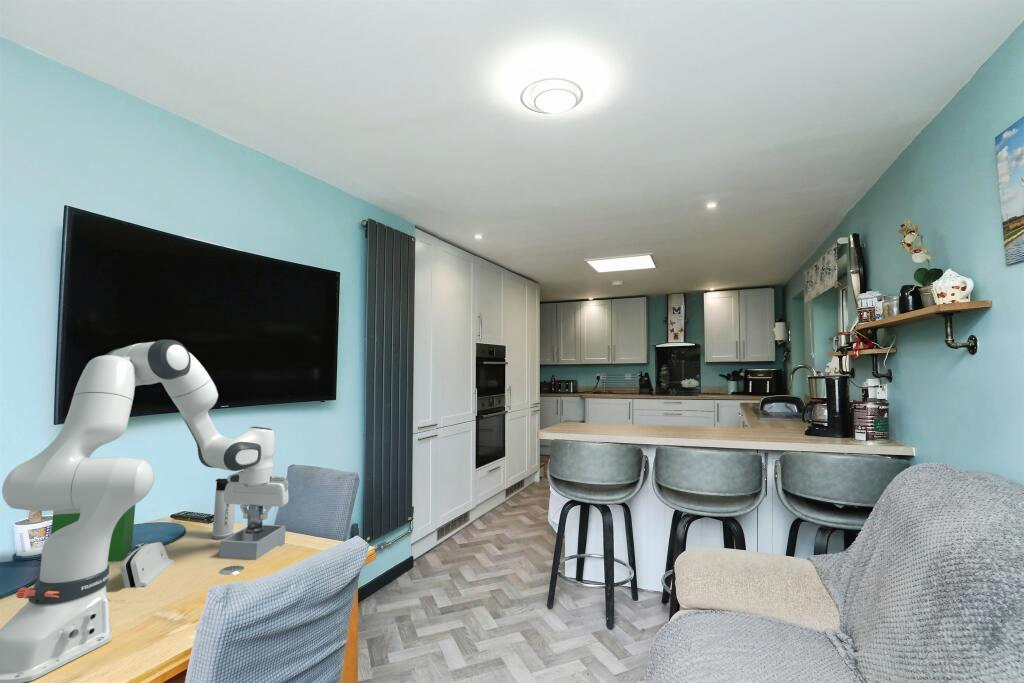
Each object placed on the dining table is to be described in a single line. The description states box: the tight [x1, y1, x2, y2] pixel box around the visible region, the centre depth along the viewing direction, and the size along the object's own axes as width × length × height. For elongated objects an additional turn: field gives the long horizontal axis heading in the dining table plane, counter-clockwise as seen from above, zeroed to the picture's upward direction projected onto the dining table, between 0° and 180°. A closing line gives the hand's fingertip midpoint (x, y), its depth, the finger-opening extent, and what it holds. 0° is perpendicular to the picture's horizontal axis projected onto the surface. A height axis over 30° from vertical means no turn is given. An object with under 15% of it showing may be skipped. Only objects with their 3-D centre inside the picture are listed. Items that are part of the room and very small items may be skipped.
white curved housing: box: [120, 541, 175, 589], centre depth 134 cm, size 17×5×10 cm, turn 13°
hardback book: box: [50, 504, 136, 563], centre depth 146 cm, size 18×7×24 cm, turn 110°
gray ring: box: [218, 565, 245, 576], centre depth 139 cm, size 6×6×1 cm
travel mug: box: [212, 478, 236, 541], centre depth 169 cm, size 6×7×20 cm
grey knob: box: [245, 505, 265, 534], centre depth 157 cm, size 5×5×9 cm
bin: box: [218, 524, 286, 561], centre depth 156 cm, size 17×12×6 cm
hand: (255, 518), depth 156 cm, fingers closed on grey knob, 4 cm apart
